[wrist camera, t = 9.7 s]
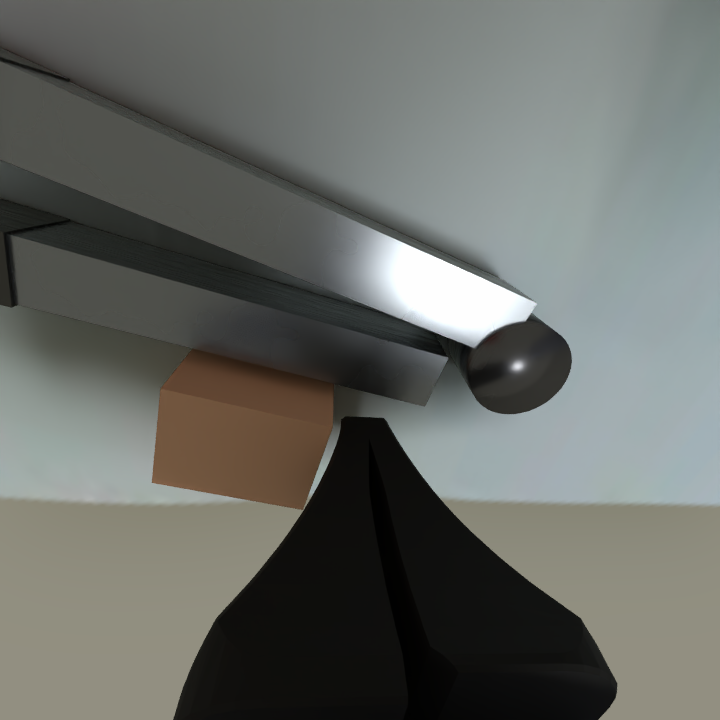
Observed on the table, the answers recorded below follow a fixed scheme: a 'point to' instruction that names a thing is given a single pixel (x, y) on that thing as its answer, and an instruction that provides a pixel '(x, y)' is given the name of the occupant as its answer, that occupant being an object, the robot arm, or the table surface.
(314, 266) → the tongs arm
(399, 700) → the robot arm
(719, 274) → the table surface
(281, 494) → the block
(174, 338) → the tongs handle
